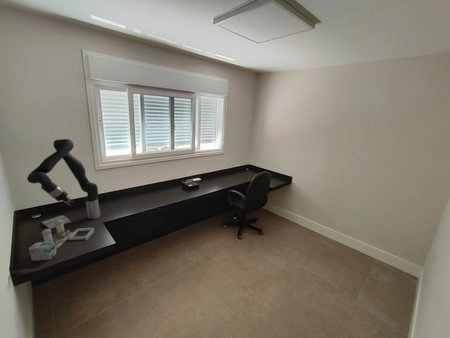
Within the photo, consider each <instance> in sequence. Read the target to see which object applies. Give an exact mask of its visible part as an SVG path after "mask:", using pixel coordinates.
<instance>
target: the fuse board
mask: <svg viewBox="0 0 450 338" xmlns="http://www.w3.org/2000/svg"><path fill="white" fill-rule="evenodd" d="M64 230H65V234H64V235H58V233H57V232H55V233H54V234H53V235H52V239H53V241H54V244H55V248H56V251H57V250H58V248H60V246H62V245H63V244H64V243H65V242H66V240H69V239H68V237H69V236H70V235H71V234H73V233H74V232H75V231H73V232H71V231H70V229H67V230H66V229H64Z"/></svg>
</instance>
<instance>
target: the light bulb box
mask: <svg viewBox="0 0 450 338" xmlns="http://www.w3.org/2000/svg"><path fill="white" fill-rule="evenodd" d="M28 251H29V254H30V259H31V261H34V262H35V261H47V260H52V258H53V257H55V255H56V254H57V250H56V248H55V244H54V241H50V242H44V241H41V242H40V241H39V242H34V244H33V245H31V246H30V247H29V248H28Z"/></svg>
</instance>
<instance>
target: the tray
mask: <svg viewBox="0 0 450 338" xmlns="http://www.w3.org/2000/svg"><path fill="white" fill-rule="evenodd" d="M73 232H74V233H73V234H71V235H70V236H69V237H68V239H67V240H68V241H73V240H74V241H76V240H84V241H85V242H87V241H88V240H89V239H90V238H91V236H92V235H93V234H94V233H95V227H84V228H77V229H76V230H74V231H73ZM78 232H88V233H87V234H86V235H85V236H83V235H82V236H76V234H77V233H78Z"/></svg>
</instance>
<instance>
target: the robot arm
mask: <svg viewBox="0 0 450 338" xmlns="http://www.w3.org/2000/svg"><path fill="white" fill-rule="evenodd" d="M74 145H75V143H74V142H73V140H71V139H67V138H61V139H56V140H54V141H53V148H54V150H55V152H53V153H52V154H50V155H48V156H47V157H46V158H45V159H44V160H43V161H42V162H41V163H40V164H39V165H38V166H37V167H36V168H34V169H33V170H32V171H31V172H30V173H29V174H28V175H27V178H26V179H27V181H28V183H30V184H40V185H41V187H40V188H41V189H42V190H43V191H44V192H46V193H47V194H48V195H49V196H50V197H52V198H53V199H54V200H56V201H58V202H61V201H62V202H63V203H65V204H67V205H68V206H70V207H73V208H74V209H75V210H78V208H79V206H78V205H77V204H76V203H75V202H74V201H73V200H72V199H71V198H70V197H69V196H68V192H67V191H65V190H64V189H63V188H61V187H60V186H59V185H57V184H56V183H54V182H53V181H52V179H51V178H50V177H49V176H48V175H47V174H49V173H50V172H51V171H52V170H53V169H54V168H55V166H56V165H57V164H58V162H60V161H61V160H63V161H64V162H65V164H66V166H67V167H68V168H69V170H70V172H71V174H73V176H74V178H75V179H76V181H77V182H78V184H79V187H80V189H81V191H83V192H84V193H86V194H87V196H85V197H84V198H85V199H84V200H85V205H86V211H87V217H88V219H89V220H95V219H99V218H100V216H101V210H100V205H99V198H98V197H99V188H98V185H97V183H94V182H91V181H90V180H89V178H88V177H87V175H86V168H85V167H84V165H83V163H82V161H80V160H79V159H77V158H76V157H75V156H73V155H72V154H71V153H70V152H71V151H72V150H73V149H74V147H75V146H74Z"/></svg>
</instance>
